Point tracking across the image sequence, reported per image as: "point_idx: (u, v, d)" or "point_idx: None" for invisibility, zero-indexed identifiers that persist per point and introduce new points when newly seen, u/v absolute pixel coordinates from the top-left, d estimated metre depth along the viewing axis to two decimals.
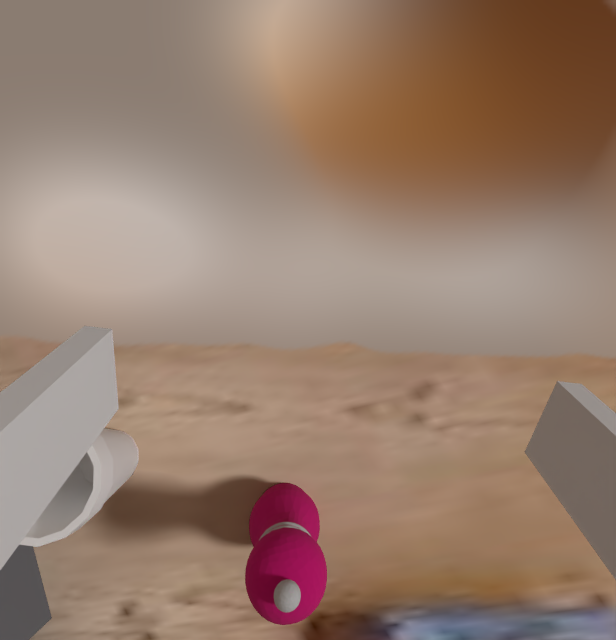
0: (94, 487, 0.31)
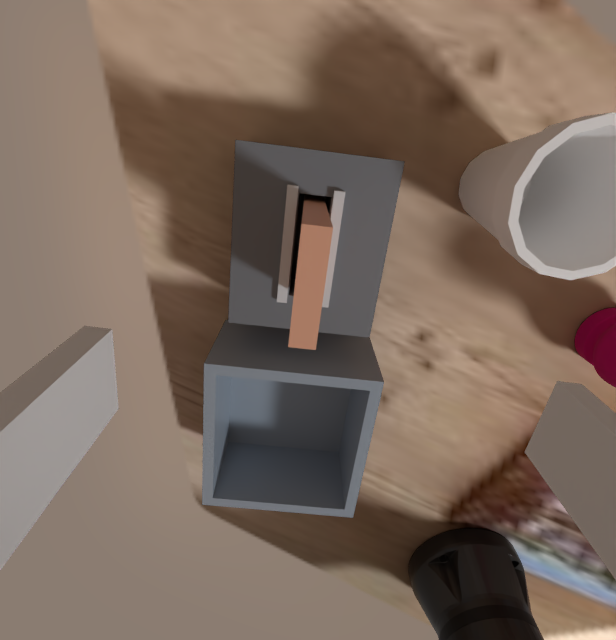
0: None
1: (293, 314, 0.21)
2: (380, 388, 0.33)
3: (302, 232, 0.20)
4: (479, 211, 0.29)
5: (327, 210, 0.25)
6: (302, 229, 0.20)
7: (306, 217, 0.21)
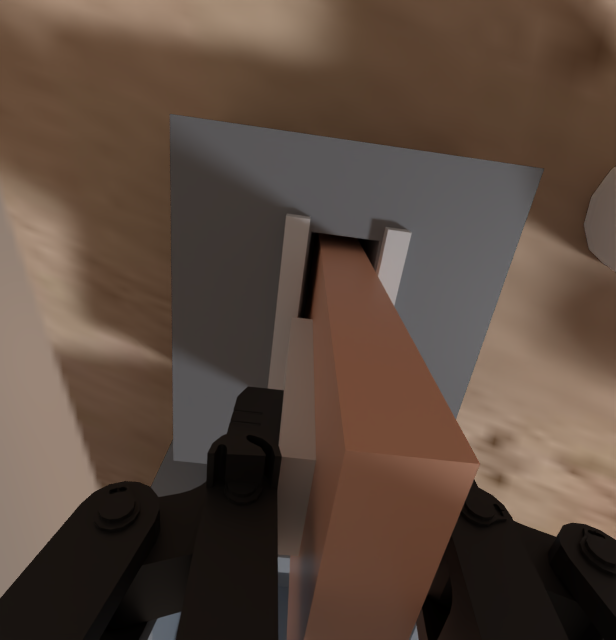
0: None
1: None
2: None
3: (346, 478, 0.05)
4: None
5: (384, 289, 0.10)
6: (347, 467, 0.05)
7: (347, 357, 0.07)
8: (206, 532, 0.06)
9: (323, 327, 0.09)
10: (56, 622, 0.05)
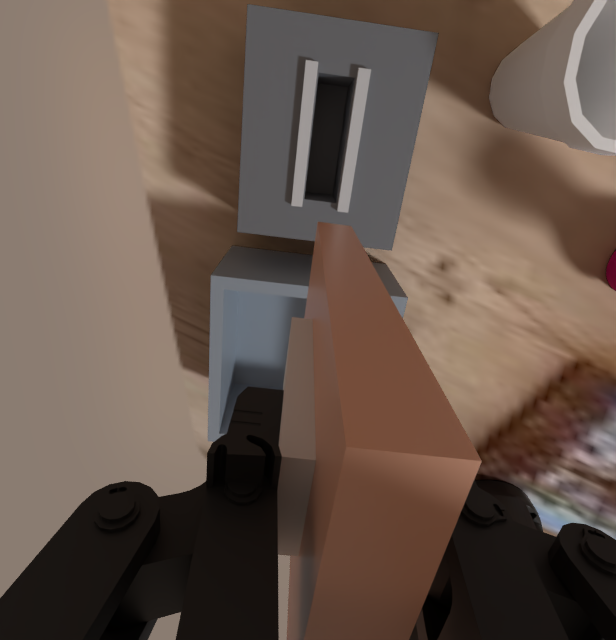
0: None
1: None
2: (403, 305, 0.30)
3: (347, 475, 0.05)
4: (519, 98, 0.26)
5: (384, 287, 0.10)
6: (348, 464, 0.05)
7: (348, 355, 0.06)
8: (206, 532, 0.06)
9: (323, 325, 0.09)
10: (56, 622, 0.05)
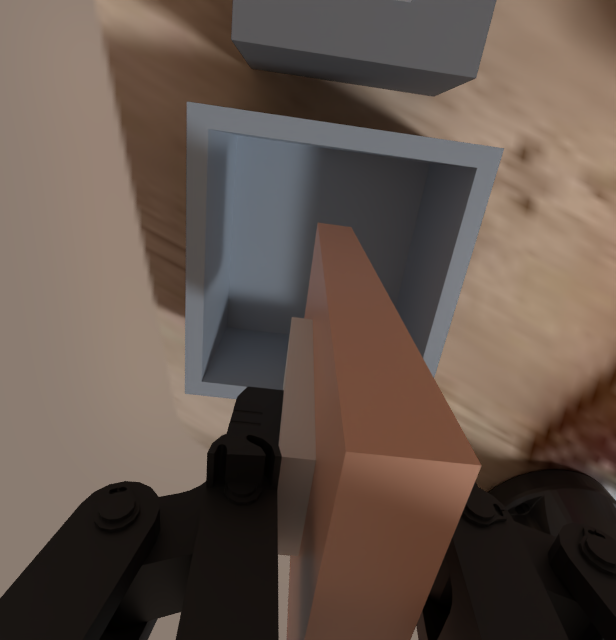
0: None
1: None
2: (496, 162, 0.19)
3: (347, 480, 0.05)
4: None
5: (384, 289, 0.10)
6: (348, 469, 0.05)
7: (348, 358, 0.06)
8: (206, 532, 0.06)
9: (323, 327, 0.09)
10: (57, 622, 0.05)
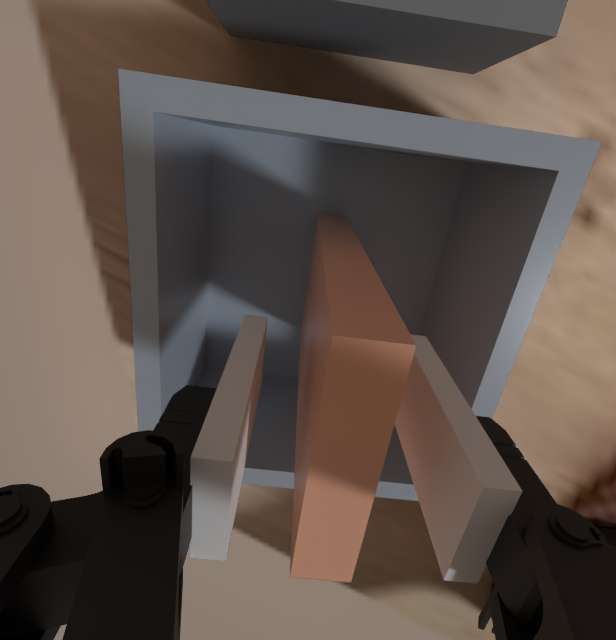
0: None
1: (303, 522, 0.09)
2: (587, 163, 0.12)
3: (333, 355, 0.07)
4: None
5: (368, 259, 0.13)
6: (333, 348, 0.07)
7: (336, 295, 0.09)
8: (100, 542, 0.05)
9: (320, 285, 0.12)
10: None
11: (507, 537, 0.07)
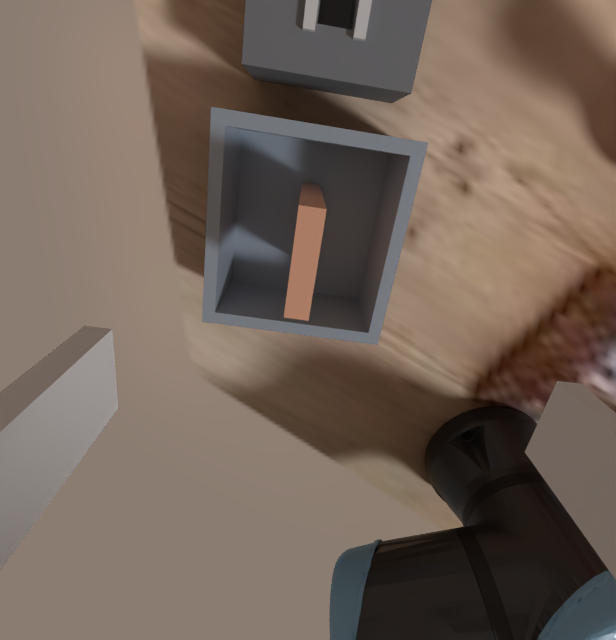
0: None
1: (289, 287, 0.24)
2: (423, 152, 0.27)
3: (299, 212, 0.22)
4: None
5: (322, 196, 0.28)
6: (299, 210, 0.22)
7: (303, 200, 0.24)
8: None
9: None
10: None
11: None
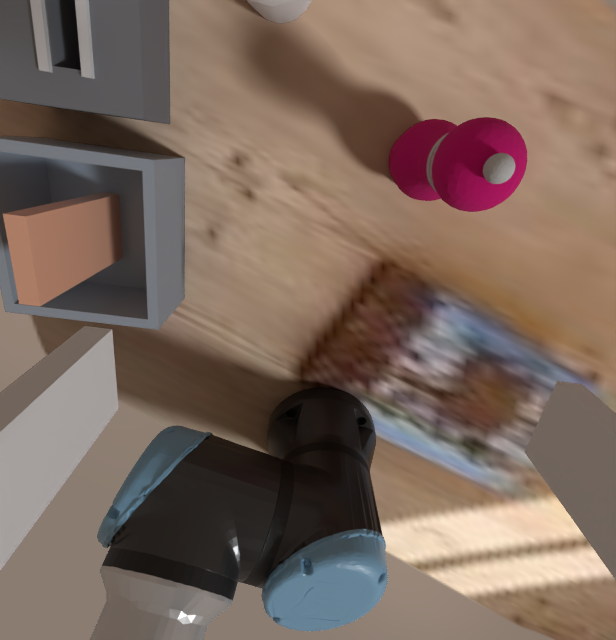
0: None
1: (15, 279, 0.30)
2: (152, 168, 0.33)
3: (5, 219, 0.28)
4: None
5: (73, 205, 0.34)
6: (4, 217, 0.28)
7: (26, 209, 0.30)
8: None
9: None
10: None
11: None
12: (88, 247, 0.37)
